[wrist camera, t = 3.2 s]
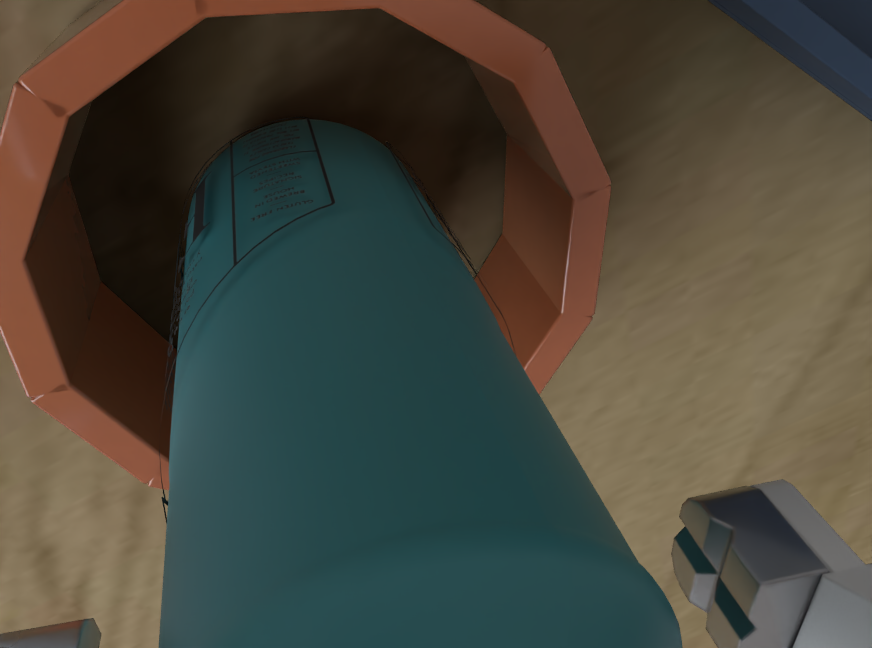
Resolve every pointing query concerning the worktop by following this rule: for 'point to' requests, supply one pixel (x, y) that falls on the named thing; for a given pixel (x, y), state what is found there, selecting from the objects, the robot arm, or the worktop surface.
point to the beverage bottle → (367, 430)
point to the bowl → (144, 347)
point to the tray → (817, 40)
